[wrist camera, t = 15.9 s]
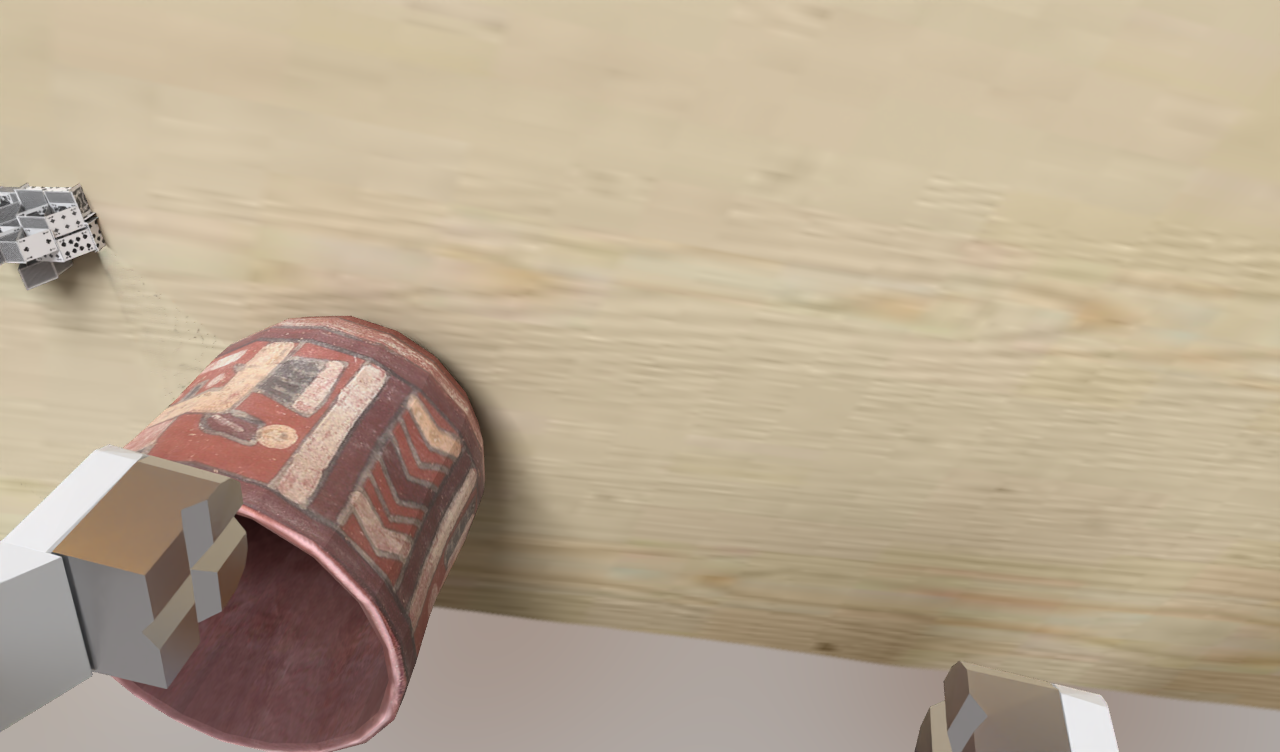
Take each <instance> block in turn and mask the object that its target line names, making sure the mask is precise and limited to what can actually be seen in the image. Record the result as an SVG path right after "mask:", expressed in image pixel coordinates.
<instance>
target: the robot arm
mask: <svg viewBox="0 0 1280 752" xmlns="http://www.w3.org/2000/svg"><path fill="white" fill-rule="evenodd" d="M242 505H243V498H242V491H241V485H240V482H239V481H237V480H235V479H233V478H230V477H227V476H223V475H220V474H216V473H212V472H209V471H205V470H202V469H198V468H195V467H191V466H187V465H184V464H180V463H177V462H173V461H170V460H166V459H162V458H159V457H155V456H152V455H146V454H142V453H139V452H135V451H131V450H128V449H124V448H120V447H117V446H113V445H107V446H104V447H102V448H99V449H97V450H95V451H93V452H92V453H91V454H90V455H89V456H88V457H87V458H86V459H85V460H84V461H83V462H82V463H81V464H80V465H79V466H78V467H77V468H76V469H75V470H74V471H73V472H72V473H71V474H69V475H68V476H67V477H66V478H65V479H64V480H63V481H62V482H61V483H60V484H59V485H58V486H57V487H56V488H55V489H54V490H53V491H52V492H51V493H50V494H49V495H48V496H47V497H46V498H45V499H44V500H43V501H42V502H41V503H40V504H39V505H38V506H37V507H36V508H35V509H34V510H33V511H32V512H31V513H30V514H29V515H28V516H26V517H25V518H24V519H23V520H22V521H21V522H20V523H19V524H18V525H17V526H16V527H15V528H14V529H13V530H12V531H11V532H10V533H9V534H8V535H7V536H6V537H5V538H4V539H3V540H2V541H1V540H0V732H1V731H3V730H5V729H6V728H8V727H10V726H11V725H13V724H15V723H16V722H18V721H19V720H21V719H23V718H24V717H26V716H28V715H29V714H31V713H33V712H34V711H36V710H37V709H39V708H41V707H42V706H44V705H46V704H47V703H49V702H51V701H52V700H54V699H56V698H57V697H59V696H61V695H62V694H64V693H65V692H67V691H69V690H70V689H72V688H74V687H75V686H77V685H78V684H80V683H82V682H83V681H85V680H87V679H88V678H90V677H92V675H93V674H92V671H93V672H98V673H101V674H106V675H110V676H114V677H118V678H122V679H126V680H131V681H135V682H139V683H143V684H148V685H152V686H156V687H160V688H165V689H168V687H169V686H170V684H171V683H172V681H173V680H174V679H175V677H176V676H177V674H178V673H179V672H180V670H181V669H182V667H183V666H184V665H185V663H186V662H187V660H188V659H189V657H190V656H191V655H192V653H193V652H194V650H195V649H196V648H197V646H198V645H199V643H200V642H201V641H200V634H199V626H198V623H199V622H201V621H203V620H205V619H207V618H209V617H211V616H213V615H215V614H217V613H219V612H221V611H222V610H223V609H224V607H225V606H226V604H227V603H228V601H229V600H230V598H231V597H232V595H233V594H234V592H235V591H236V588H237V586H238V583H239V581H240V578H241V576H242V573H243V571H244V568H245V564H246V557H247V550H248V545H247V533H246V531H245V530H244V529H243V527H242V526H241V525H240V524H239V522H238V521H237V520H236V519H235V517H234V516H235V514H236V513H237V512H238V510H239V509H240V508H241V506H242ZM944 692H945V693H944V694H945V700H944V701H942V702H940V703H938V704H935V705H933V706H931V707H930V708H929V710H928V712H927V714H926V716H925V719H924V721H923V723H922V725H921V727H920V731H919V736H918V739H917V744H916V748H915V752H1119V749H1118V744H1117V740H1116V736H1115V732H1114V728H1113V724H1112V720H1111V716H1110V712H1109V708H1108V704H1107V703H1106V701H1105V700H1104V699H1103V697H1102V696H1101V695H1099V694H1094V693H1090V692H1086V691H1082V690H1078V689H1074V688H1070V687H1066V686H1062V685H1058V684H1050V683H1049V682H1047V681H1043V680H1039V679H1035V678H1031V677H1026V676H1022V675H1018V674H1014V673H1010V672H1006V671H1001V670H997V669H993V668H989V667H985V666H981V665H977V664H972V663H968V662H964V661H958V662H957V663H956V664H955V665H953V666H952V667H951V669H950V671H949V673H948V675H947V677H946V678H945V680H944Z"/></svg>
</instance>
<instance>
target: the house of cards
mask: <svg viewBox="0 0 1280 752" xmlns="http://www.w3.org/2000/svg"><path fill="white" fill-rule="evenodd" d="M93 214H95V213H94V212H91V210H90V208H89V205H88V203H87V200H86V197H85V195H84V192H83V190H82V187H81V185H80V183H79V184H77V185H75V186H74V187H72V188H71V187H30V186H29V184H28V183H26V184H24V185H23V186H21V187H3V186H0V265H2V264H3V263H20V265H19V268H18V271H19V274H20V276H21V278H22V280H23V282H24V285H25V287H26V289H27V290H29V289H32V288H34V287H37V286H39V285H42V284H44V283H47V282H50V281H52V280H55V279H57V278H58V275H60V274H61V273H62V272H64V271H65V270H67V269H68V268H69V267H71V266H72V265H73V263H72V260H71V259H73V258H75V257H78V256H80V255H83V254H86V253H88V252H91V251H95V253H96V252H97V251H99V250H100V249H102V248H103V247H104V246H106V244H105V242H104V239H103V236H102V234H101V231H100V229H99V226H98V224H97V221H96V218H98V217H90V216H92V215H93Z"/></svg>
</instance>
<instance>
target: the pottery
mask: <svg viewBox="0 0 1280 752" xmlns="http://www.w3.org/2000/svg"><path fill="white" fill-rule="evenodd" d="M123 448H124V449H128V450H131V451H135V452H139V453H142V454H146V455H152V456H155V457H159V458H162V459H166V460H170V461H173V462H177V463H180V464H184V465H187V466H191V467H195V468H198V469H202V470H205V471H209V472H212V473H216V474H220V475H223V476H227V477H230V478H233V479H235V480H237V481H239V482H240V485H241V491H242V498H243V505H242V506H241V508H240V509H239V510H238V512H237V513H236V514H235V516H234V517H235V519H236V520H237V521H238V522H239V524H240V525H241V526H242V527H243V529H244V530H245V531H246V533H247V545H248V550H247V557H246V564H245V568H244V571H243V573H242V576H241V578H240V581H239V583H238V586H237V588H236V591H235V592H234V594H233V595H232V597H231V598H230V600H229V601H228V603H227V604H226V606H225V607H224V609H223V610H222V611H221V612H219V613H217V614H215V615H213V616H211V617H209V618H207V619H205V620H203V621H201V622H199V623H198V626H199V634H200V641H201V642H200V643H199V645H198V646H197V648H196V649H195V650H194V652H193V653H192V655H191V656H190V657H189V659H188V660H187V662H186V663H185V665H184V666H183V667H182V669H181V670H180V672H179V673H178V674H177V676H176V677H175V679H174V680H173V681H172V683H171V684H170V686H169V687H168V689H165V688H160V687H156V686H152V685H148V684H143V683H139V682H135V681H131V680H126V679H122V678H118V677H114V676H111V677H113V678H114V679H115V680H116V681H118V682H119V683H120V684H121V685H123V686H124V687H125V688H126V689H127V690H129V691H130V692H131V693H132V694H134V695H135V696H136V697H138V698H140V699H141V700H143V701H145V702H146V703H148V704H150V705H151V706H153V707H155V708H156V709H158V710H159V711H161V712H163V713H164V714H166V715H167V716H169V717H171V718H173V719H174V720H176V721H178V722H179V723H182V724H184V725H186V726H189V727H191V728H193V729H195V730H198V731H200V732H202V733H204V734H207V735H209V736H211V737H214V738H216V739H218V740H220V741H223V742H228V743H232V744H236V745H241V746H245V747H250V748H254V749H259V750H263V751H267V752H333V751H336V750H340V749H344V748H348V747H352V746H356V745H359V744H363V743H366V742H367V741H369V740H370V739H371V738H372V737H374V736H375V735H376V734H377V733H378V732H380V731H381V730H382V729H383V728H385V727H386V726H387V725H388V724H389V723H391V722H392V721H393V720H394V719H395V717H396V714H397V712H398V710H399V707H400V705H401V703H402V700H403V698H404V695H405V692H406V689H407V686H408V683H409V681H410V678H411V675H412V672H413V669H414V666H415V663H416V660H417V657H418V653H419V650H420V646H421V643H422V640H423V637H424V633H425V630H426V627H427V623H428V619H429V616H430V614H431V611H432V608H433V606H434V603H435V600H436V598H437V596H438V594H439V592H440V590H441V588H442V586H443V584H444V582H445V580H446V578H447V576H448V574H449V572H450V570H451V568H452V566H453V564H454V562H455V560H456V558H457V556H458V554H459V552H460V550H461V548H462V546H463V544H464V542H465V540H466V537H467V534H468V532H469V529H470V527H471V524H472V522H473V519H474V517H475V514H476V511H477V509H478V506H479V504H480V501H481V498H482V495H483V493H484V484H485V467H484V450H483V439H482V435H481V431H480V427H479V423H478V420H477V418H476V416H475V413H474V411H473V409H472V406H471V404H470V401H469V399H468V397H467V394H466V392H465V391H464V390H463V389H462V387H461V386H460V385H459V384H458V383H457V381H456V380H455V379H454V378H453V377H452V376H451V374H450V373H449V372H448V371H447V370H446V368H445V367H444V366H443V365H442V364H441V362H440V361H439V360H438V359H437V358H436V357H435V356H434V355H432V354H431V353H429V352H428V351H426V350H425V349H423V348H422V347H420V346H419V345H417V344H416V343H414V342H413V341H411V340H410V339H408V338H407V337H405V336H404V335H402V334H401V333H399V332H398V331H395V330H392V329H389V328H386V327H383V326H380V325H377V324H374V323H371V322H368V321H364V320H361V319H358V318H355V317H352V316H326V317H302V318H291V319H287V320H284V321H282V322H280V323H278V324H275V325H273V326H271V327H268V328H266V329H264V330H261V331H259V332H257V333H255V334H252V335H250V336H248V337H245V338H243V339H241V340H239V341H237V342H235V343H232V344H231V345H230V346H229V347H227V348H226V349H225V350H224V351H223V352H222V353H221V354H219V355H218V356H217V357H216V358H215V359H214V360H213V361H212V362H211V363H210V364H209V365H208V366H207V367H206V368H205V369H204V370H203V372H202V373H201V374H200V375H199V376H198V377H197V378H196V379H195V380H194V381H193V382H192V383H191V384H190V385H189V386H188V387H187V388H186V389H185V390H184V391H183V392H182V394H181V395H180V396H179V397H178V398H177V399H176V400H175V401H174V402H173V403H172V404H171V405H170V406H169V407H168V408H167V409H165V410H164V411H163V412H162V413H161V414H160V415H159V416H158V417H157V418H156V419H155V420H154V421H152V422H151V423H150V424H149V425H148V426H147V427H146V428H145V429H144V430H143V431H142V432H141V433H140V434H138V435H137V436H136V437H135V438H134V439H133V440H132V441H131V442H129V443H128V444H127V445H126V446H124V447H123Z"/></svg>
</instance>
